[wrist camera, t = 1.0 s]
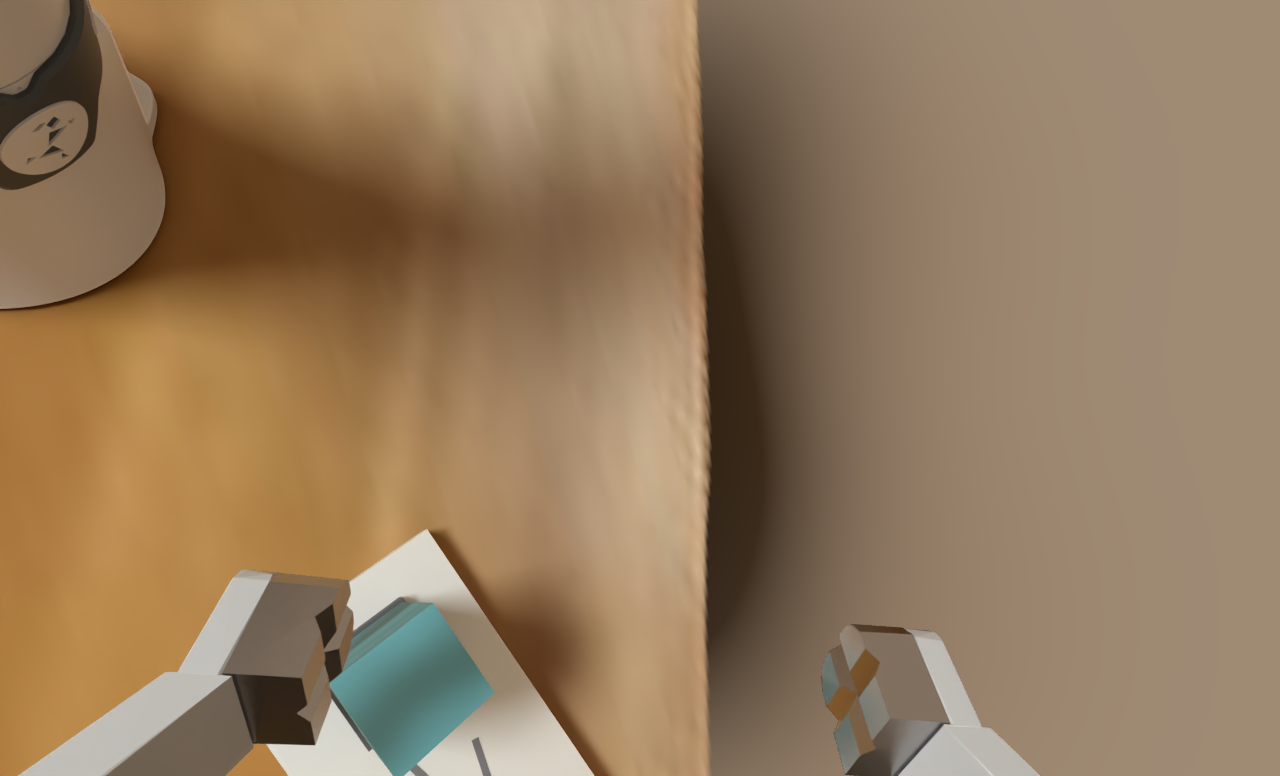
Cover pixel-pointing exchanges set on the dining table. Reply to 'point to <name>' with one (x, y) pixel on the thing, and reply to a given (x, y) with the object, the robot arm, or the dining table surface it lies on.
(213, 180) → the dining table surface
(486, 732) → the board
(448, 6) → the dining table surface
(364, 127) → the dining table surface
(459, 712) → the block
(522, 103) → the dining table surface
